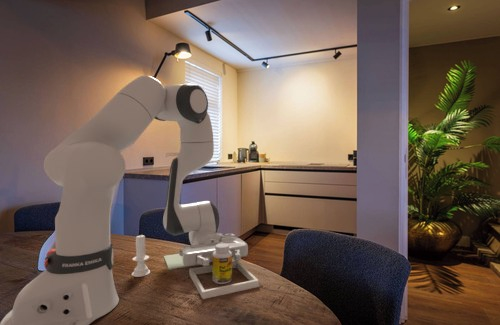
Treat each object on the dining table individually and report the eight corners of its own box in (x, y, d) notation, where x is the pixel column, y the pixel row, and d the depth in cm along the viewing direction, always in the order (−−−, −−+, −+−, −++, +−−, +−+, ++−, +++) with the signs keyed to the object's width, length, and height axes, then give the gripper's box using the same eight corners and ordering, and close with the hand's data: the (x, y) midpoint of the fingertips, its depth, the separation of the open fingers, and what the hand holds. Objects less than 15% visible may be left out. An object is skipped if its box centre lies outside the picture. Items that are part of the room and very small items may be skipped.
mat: (168, 270, 87) (168, 268, 87) (163, 257, 98) (163, 255, 98) (206, 263, 92) (206, 262, 92) (197, 252, 103) (197, 250, 103)
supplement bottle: (218, 287, 76) (217, 249, 76) (209, 279, 80) (209, 244, 80) (235, 281, 79) (235, 246, 79) (226, 274, 84) (226, 241, 83)
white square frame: (202, 299, 69) (202, 292, 69) (189, 274, 84) (189, 268, 84) (258, 286, 76) (258, 280, 76) (237, 266, 90) (237, 260, 90)
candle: (154, 271, 86) (153, 233, 86) (140, 278, 81) (140, 237, 81) (141, 268, 88) (140, 231, 88) (127, 275, 84) (126, 235, 83)
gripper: (177, 240, 87) (186, 255, 74) (238, 233, 95) (255, 244, 83) (177, 260, 87) (186, 278, 75) (238, 251, 96) (255, 265, 83)
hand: (223, 260), depth 79 cm, fingers open, 8 cm apart
